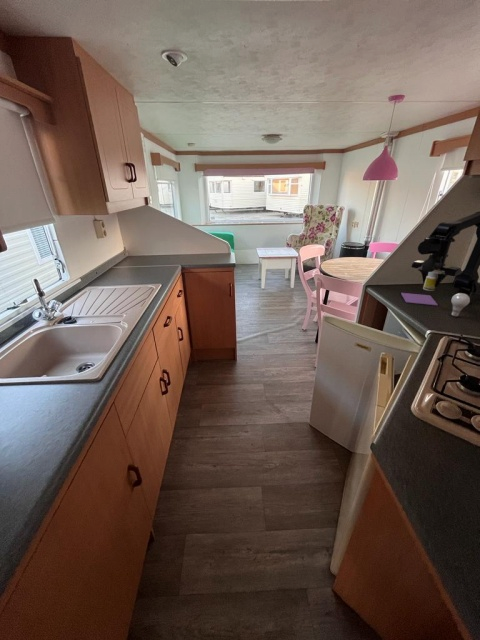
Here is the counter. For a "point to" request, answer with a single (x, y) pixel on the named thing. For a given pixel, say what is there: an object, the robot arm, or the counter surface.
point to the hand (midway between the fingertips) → (429, 285)
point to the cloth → (419, 299)
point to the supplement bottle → (430, 281)
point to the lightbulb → (459, 303)
